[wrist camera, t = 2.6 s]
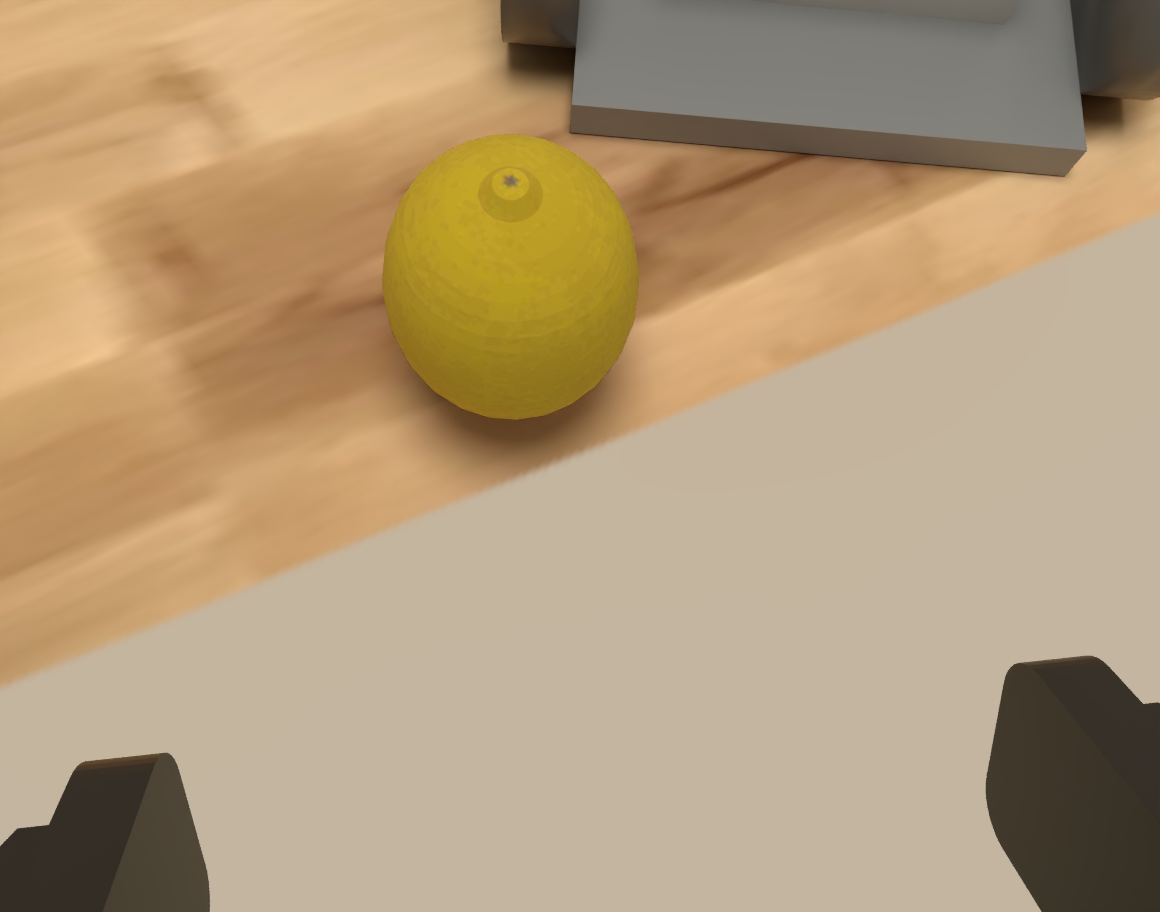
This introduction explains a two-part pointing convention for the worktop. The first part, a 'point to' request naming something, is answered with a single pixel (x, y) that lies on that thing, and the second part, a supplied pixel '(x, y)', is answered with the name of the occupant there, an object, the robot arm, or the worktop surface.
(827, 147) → the chassis
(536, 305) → the lemon
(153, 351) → the worktop surface
